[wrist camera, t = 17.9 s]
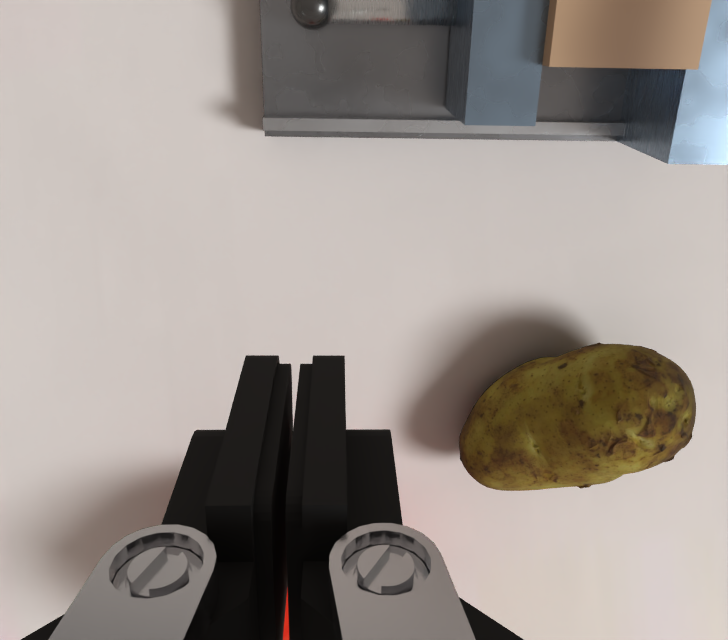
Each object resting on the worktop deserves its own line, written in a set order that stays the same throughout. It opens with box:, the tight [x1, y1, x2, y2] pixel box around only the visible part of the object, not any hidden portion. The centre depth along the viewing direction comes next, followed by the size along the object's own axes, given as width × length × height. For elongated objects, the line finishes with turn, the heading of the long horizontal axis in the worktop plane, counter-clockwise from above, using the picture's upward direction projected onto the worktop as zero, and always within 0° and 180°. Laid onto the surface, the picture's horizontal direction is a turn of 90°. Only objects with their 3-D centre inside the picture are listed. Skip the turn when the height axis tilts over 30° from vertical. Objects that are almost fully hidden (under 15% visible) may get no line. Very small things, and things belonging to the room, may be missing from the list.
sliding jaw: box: [290, 0, 550, 126], centre depth 30 cm, size 10×9×6 cm
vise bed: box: [260, 0, 728, 165], centre depth 31 cm, size 21×12×8 cm, turn 89°
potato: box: [459, 343, 696, 491], centre depth 39 cm, size 8×13×8 cm, turn 104°
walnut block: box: [542, 0, 712, 70], centre depth 30 cm, size 6×4×7 cm, turn 89°
